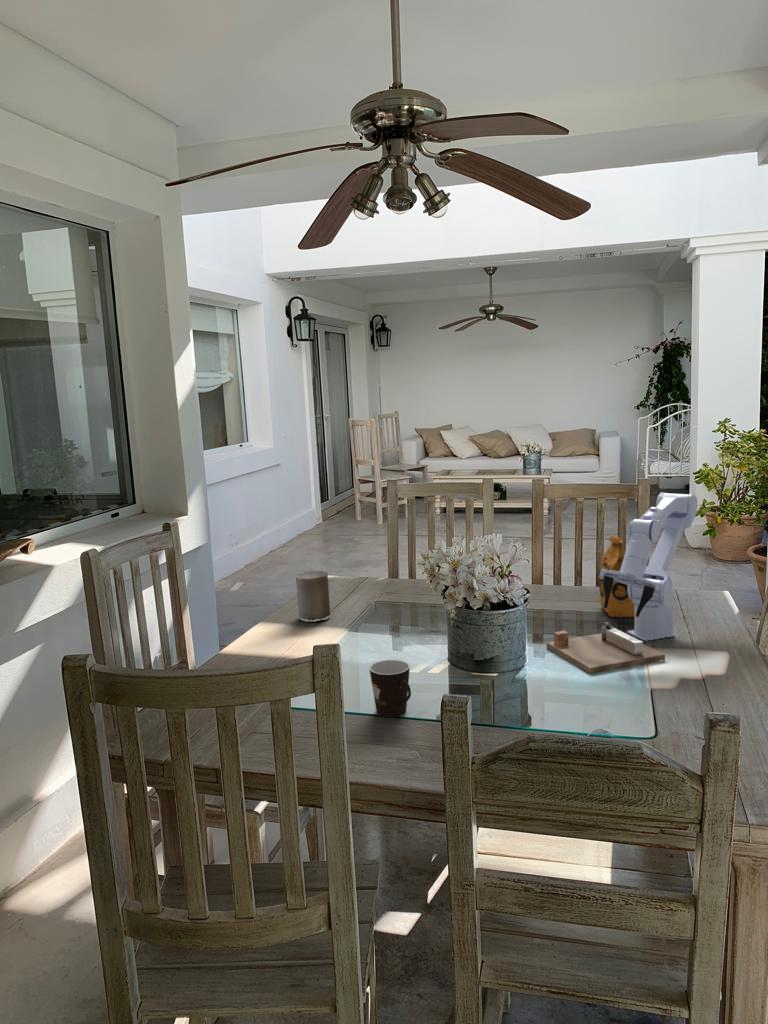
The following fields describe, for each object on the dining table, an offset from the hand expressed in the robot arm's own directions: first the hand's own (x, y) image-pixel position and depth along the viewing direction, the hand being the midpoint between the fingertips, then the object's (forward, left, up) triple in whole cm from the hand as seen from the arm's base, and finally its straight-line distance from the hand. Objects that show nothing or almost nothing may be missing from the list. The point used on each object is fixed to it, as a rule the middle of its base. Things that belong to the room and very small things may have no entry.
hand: (621, 611), depth 194 cm
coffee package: (-21, -31, -12) cm, 39 cm away
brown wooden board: (+3, -3, -12) cm, 12 cm away
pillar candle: (+62, -66, -12) cm, 92 cm away
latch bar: (-2, -2, -10) cm, 10 cm away
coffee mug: (+63, +9, -12) cm, 65 cm away
